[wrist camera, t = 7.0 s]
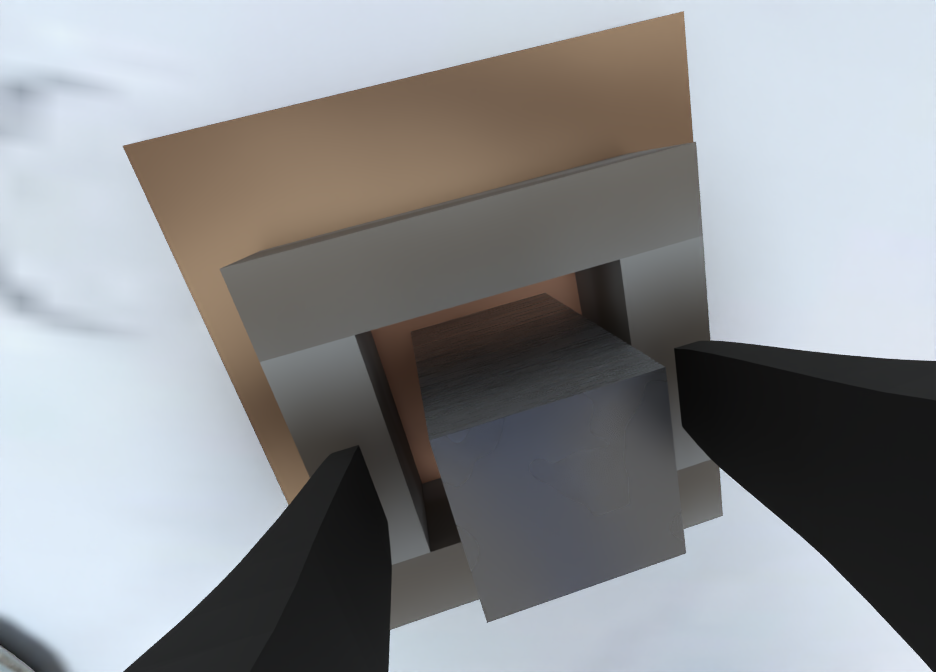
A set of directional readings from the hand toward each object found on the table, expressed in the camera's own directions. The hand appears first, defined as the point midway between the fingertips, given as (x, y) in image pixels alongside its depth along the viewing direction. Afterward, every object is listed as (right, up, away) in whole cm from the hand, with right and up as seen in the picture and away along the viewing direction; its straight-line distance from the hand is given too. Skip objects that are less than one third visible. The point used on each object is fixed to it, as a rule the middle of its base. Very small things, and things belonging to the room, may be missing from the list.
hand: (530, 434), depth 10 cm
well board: (-1, +1, +4) cm, 5 cm away
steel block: (-1, +1, +4) cm, 4 cm away
